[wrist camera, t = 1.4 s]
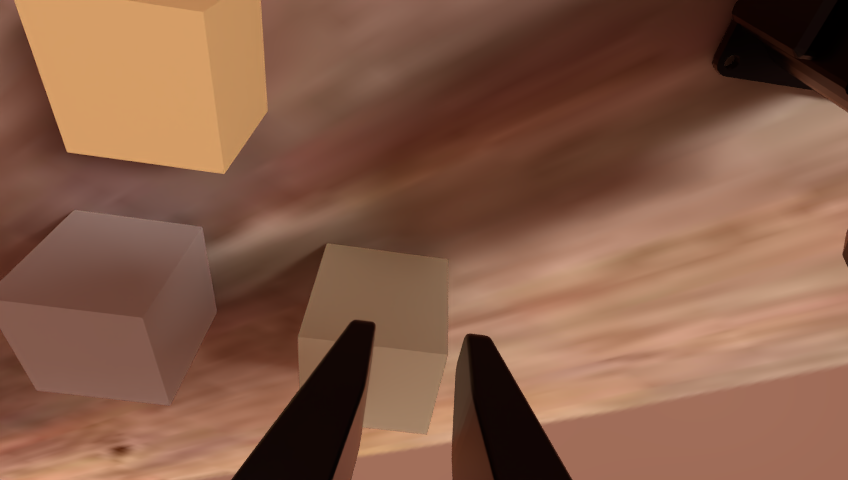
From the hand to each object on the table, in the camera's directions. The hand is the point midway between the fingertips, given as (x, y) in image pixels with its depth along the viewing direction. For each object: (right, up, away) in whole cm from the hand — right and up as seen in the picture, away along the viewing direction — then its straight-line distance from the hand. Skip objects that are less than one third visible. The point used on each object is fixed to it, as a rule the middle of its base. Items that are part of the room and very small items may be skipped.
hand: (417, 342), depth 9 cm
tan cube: (-2, -1, +18) cm, 18 cm away
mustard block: (-8, +9, +10) cm, 16 cm away
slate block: (-14, +1, +17) cm, 22 cm away
